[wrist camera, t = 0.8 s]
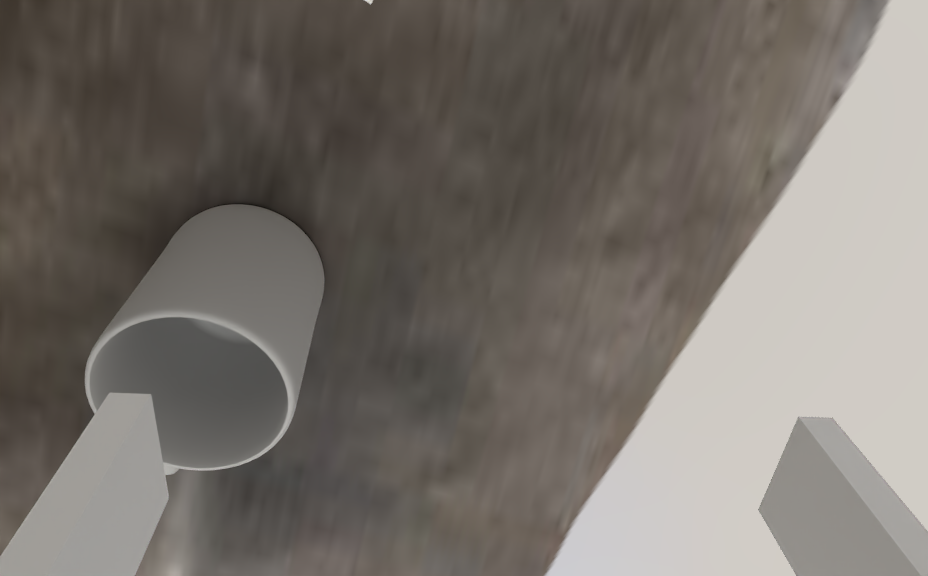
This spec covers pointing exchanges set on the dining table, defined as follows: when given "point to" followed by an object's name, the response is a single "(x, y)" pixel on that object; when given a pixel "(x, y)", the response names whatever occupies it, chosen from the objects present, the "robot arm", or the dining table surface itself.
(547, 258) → the dining table surface
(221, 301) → the mug
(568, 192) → the dining table surface
